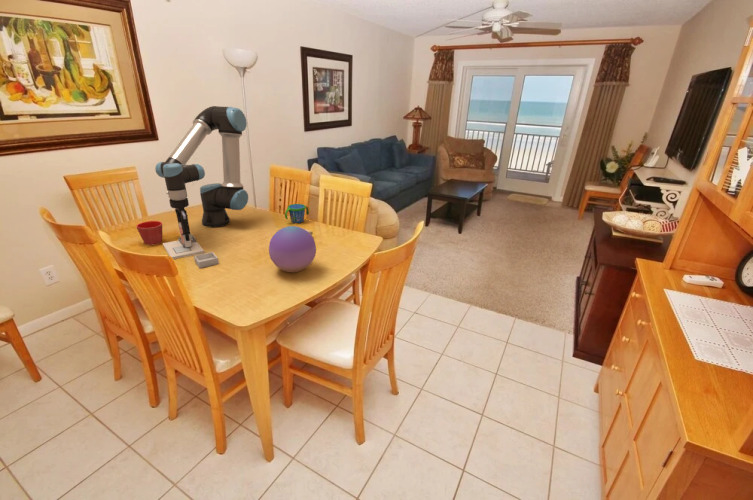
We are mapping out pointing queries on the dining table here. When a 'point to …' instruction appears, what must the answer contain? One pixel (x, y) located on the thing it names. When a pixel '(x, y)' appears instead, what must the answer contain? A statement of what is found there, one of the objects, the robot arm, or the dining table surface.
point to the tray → (206, 260)
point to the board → (182, 248)
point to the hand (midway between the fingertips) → (187, 244)
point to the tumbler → (182, 235)
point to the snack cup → (297, 212)
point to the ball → (292, 249)
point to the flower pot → (150, 232)
